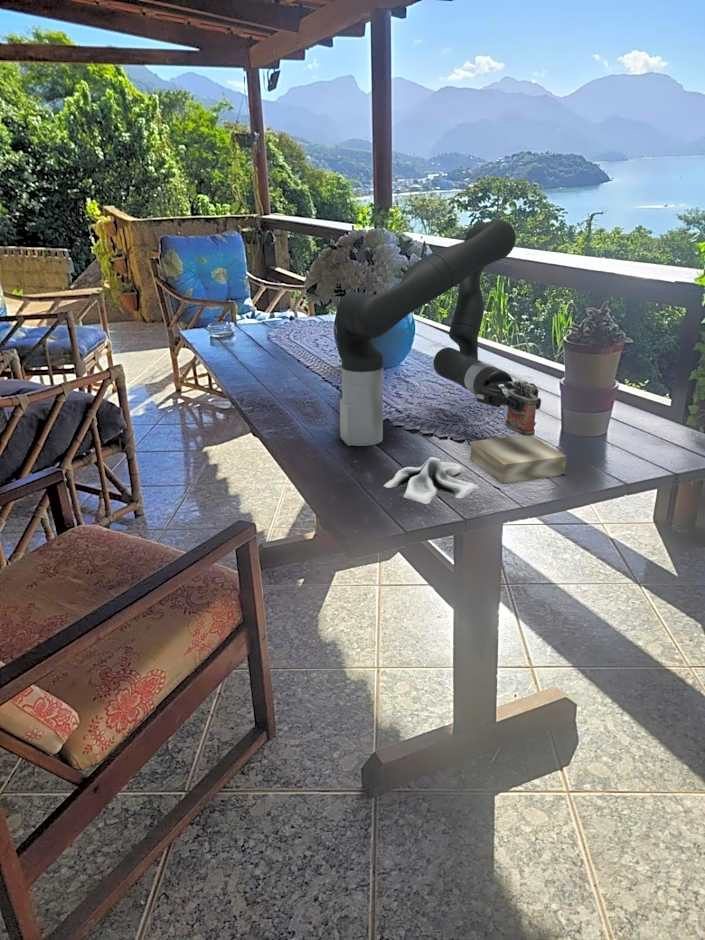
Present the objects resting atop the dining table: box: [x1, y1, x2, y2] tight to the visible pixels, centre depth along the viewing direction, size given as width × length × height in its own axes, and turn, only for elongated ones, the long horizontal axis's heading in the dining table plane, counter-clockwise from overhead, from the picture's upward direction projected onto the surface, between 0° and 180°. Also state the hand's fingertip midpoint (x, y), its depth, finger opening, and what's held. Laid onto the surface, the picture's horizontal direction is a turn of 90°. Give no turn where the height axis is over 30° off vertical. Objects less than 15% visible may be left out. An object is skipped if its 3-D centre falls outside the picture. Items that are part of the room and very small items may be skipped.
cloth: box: [383, 456, 480, 505], centre depth 130 cm, size 22×19×6 cm
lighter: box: [505, 379, 539, 437], centre depth 134 cm, size 8×3×10 cm, turn 21°
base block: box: [469, 434, 567, 484], centre depth 138 cm, size 14×14×4 cm
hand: (529, 405), depth 131 cm, fingers closed on lighter, 3 cm apart
